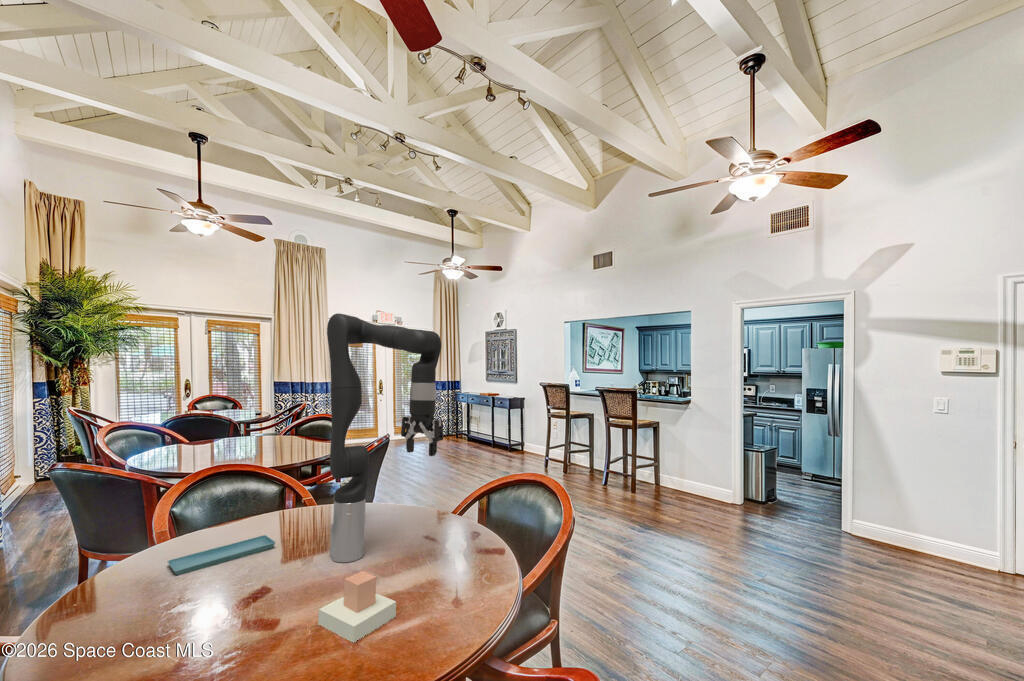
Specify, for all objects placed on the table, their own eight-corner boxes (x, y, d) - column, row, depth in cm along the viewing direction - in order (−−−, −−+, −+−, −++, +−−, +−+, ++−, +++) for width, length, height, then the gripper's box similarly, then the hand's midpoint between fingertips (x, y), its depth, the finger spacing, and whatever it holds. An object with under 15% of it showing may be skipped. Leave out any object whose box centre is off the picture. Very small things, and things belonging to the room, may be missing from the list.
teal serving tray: (174, 578, 121) (174, 569, 121) (166, 568, 127) (166, 559, 127) (276, 550, 140) (276, 542, 140) (265, 542, 146) (265, 534, 146)
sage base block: (317, 627, 100) (318, 609, 100) (361, 603, 110) (361, 587, 110) (353, 646, 94) (354, 626, 94) (395, 619, 104) (396, 601, 104)
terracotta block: (343, 605, 102) (344, 578, 102) (362, 596, 106) (363, 570, 106) (356, 612, 99) (357, 585, 99) (375, 603, 103) (376, 576, 103)
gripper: (396, 397, 131) (394, 453, 130) (432, 400, 123) (431, 459, 122) (413, 396, 137) (412, 449, 136) (449, 398, 130) (448, 454, 129)
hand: (421, 453), depth 129 cm, fingers open, 8 cm apart
